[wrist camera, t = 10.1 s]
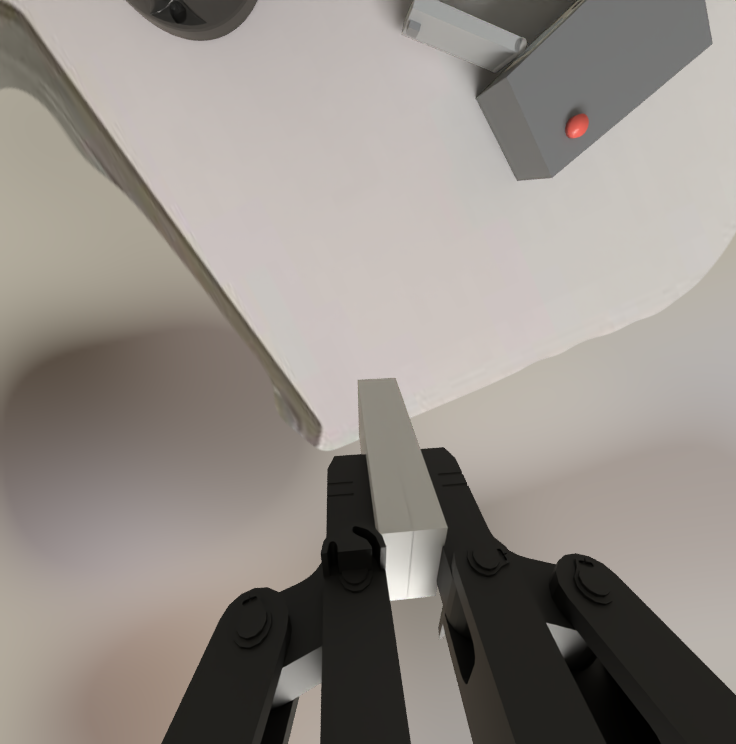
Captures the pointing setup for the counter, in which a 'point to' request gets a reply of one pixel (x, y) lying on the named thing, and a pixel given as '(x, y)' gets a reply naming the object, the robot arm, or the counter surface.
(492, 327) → the counter surface
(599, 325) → the counter surface
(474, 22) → the side door
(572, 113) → the camera body
